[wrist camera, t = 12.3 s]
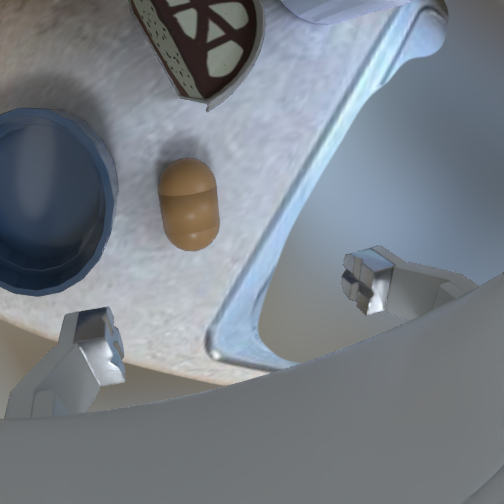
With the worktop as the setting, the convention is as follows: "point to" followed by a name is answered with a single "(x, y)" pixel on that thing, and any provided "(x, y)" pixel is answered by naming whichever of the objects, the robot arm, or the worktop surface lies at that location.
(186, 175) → the potato
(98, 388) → the robot arm
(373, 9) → the soap bottle
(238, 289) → the worktop surface
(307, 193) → the worktop surface
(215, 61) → the cake slice
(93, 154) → the bowl
